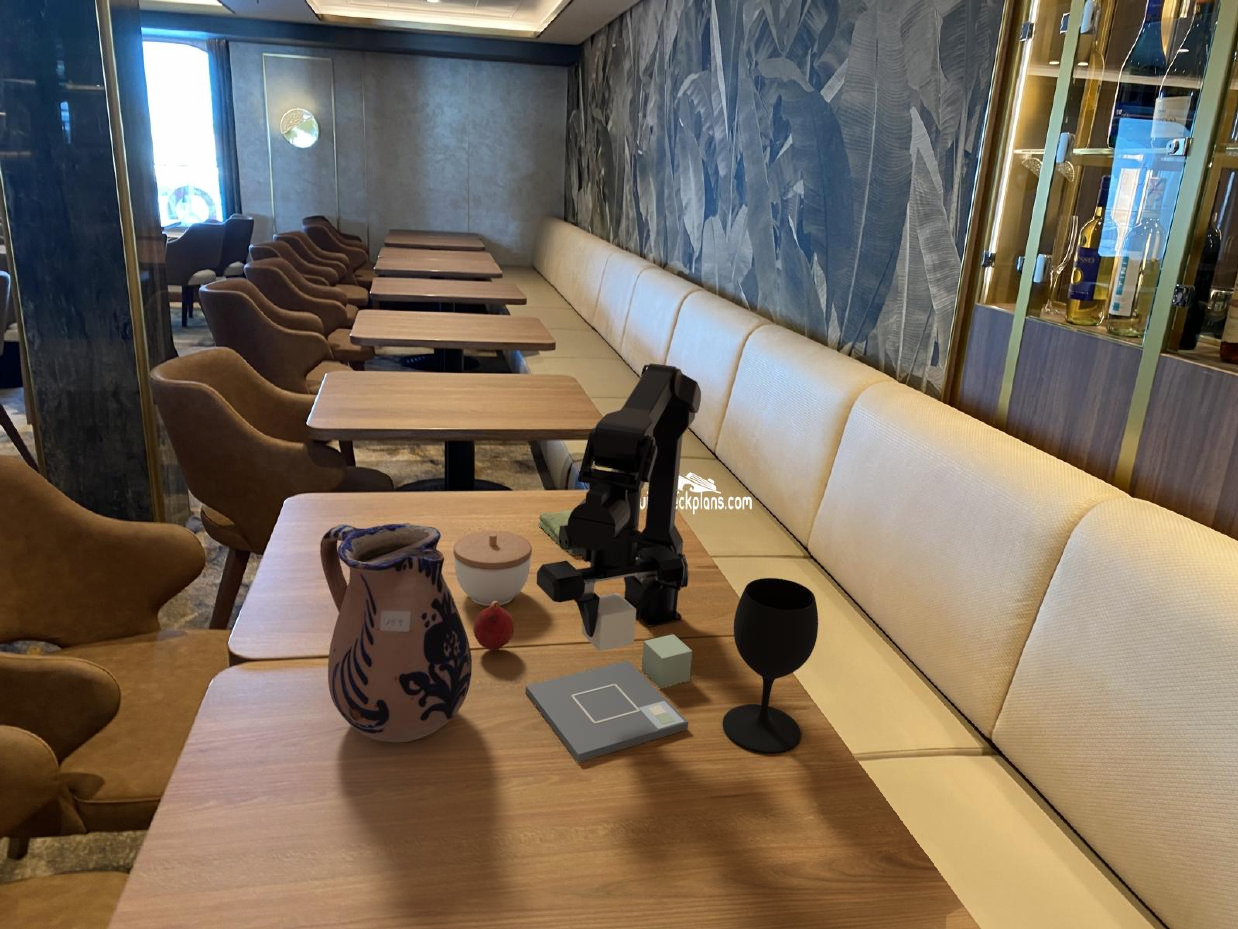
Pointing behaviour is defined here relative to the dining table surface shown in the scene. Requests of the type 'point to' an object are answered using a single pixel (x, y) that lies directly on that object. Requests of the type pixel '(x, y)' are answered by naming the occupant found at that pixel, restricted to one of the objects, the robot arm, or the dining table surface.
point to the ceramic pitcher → (394, 632)
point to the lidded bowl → (492, 565)
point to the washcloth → (555, 524)
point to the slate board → (605, 710)
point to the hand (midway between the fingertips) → (608, 631)
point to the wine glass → (771, 658)
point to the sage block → (666, 660)
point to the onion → (493, 627)
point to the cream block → (613, 623)
